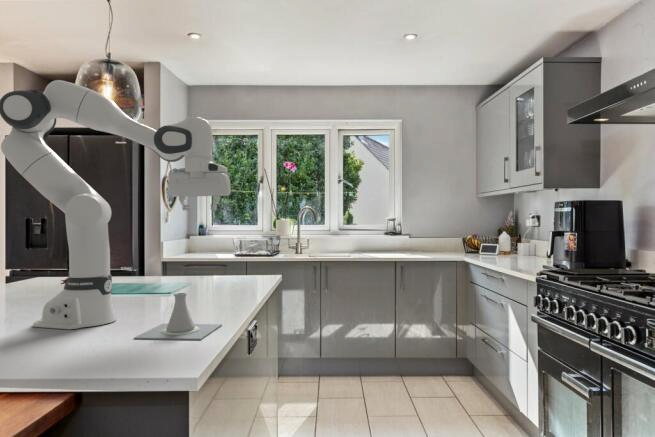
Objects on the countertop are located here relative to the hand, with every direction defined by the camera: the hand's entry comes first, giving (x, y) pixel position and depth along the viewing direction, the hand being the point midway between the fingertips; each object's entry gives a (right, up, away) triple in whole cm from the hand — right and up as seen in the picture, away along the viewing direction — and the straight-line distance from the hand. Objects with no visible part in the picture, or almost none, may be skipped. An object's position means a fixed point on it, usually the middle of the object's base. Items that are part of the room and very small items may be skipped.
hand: (199, 210), depth 146 cm
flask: (+1, -34, -22) cm, 40 cm away
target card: (+1, -34, -22) cm, 41 cm away
